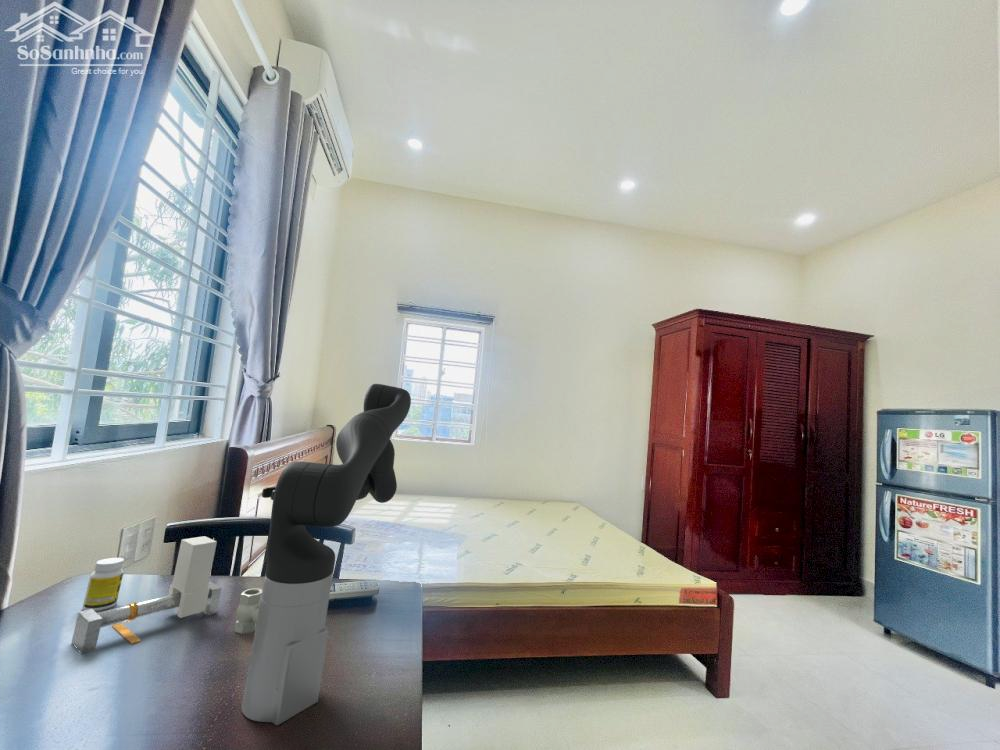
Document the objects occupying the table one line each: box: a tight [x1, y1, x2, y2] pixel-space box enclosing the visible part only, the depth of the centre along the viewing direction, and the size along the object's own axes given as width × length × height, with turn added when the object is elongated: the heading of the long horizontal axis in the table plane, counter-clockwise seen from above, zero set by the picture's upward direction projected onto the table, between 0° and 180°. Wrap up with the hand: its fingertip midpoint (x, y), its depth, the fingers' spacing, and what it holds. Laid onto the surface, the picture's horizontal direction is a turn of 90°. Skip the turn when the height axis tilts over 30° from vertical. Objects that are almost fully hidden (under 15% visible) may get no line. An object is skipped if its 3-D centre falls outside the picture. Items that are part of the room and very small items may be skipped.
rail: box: [71, 580, 222, 655], centre depth 71 cm, size 19×9×5 cm, turn 150°
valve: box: [233, 588, 263, 635], centre depth 73 cm, size 7×7×12 cm
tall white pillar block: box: [167, 535, 218, 619], centre depth 76 cm, size 4×6×13 cm, turn 60°
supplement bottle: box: [82, 557, 125, 612], centre depth 77 cm, size 5×5×8 cm
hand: (268, 494), depth 89 cm, fingers open, 3 cm apart
